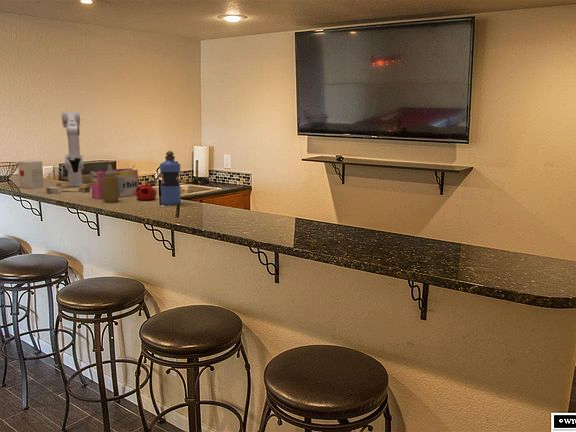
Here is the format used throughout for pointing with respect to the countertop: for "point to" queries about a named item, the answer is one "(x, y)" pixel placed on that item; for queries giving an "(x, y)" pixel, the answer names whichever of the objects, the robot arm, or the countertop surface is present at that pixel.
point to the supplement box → (30, 174)
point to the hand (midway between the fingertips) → (75, 172)
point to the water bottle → (170, 181)
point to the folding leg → (59, 188)
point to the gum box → (125, 181)
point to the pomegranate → (145, 192)
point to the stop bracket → (55, 191)
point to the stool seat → (75, 188)
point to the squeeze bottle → (110, 186)
